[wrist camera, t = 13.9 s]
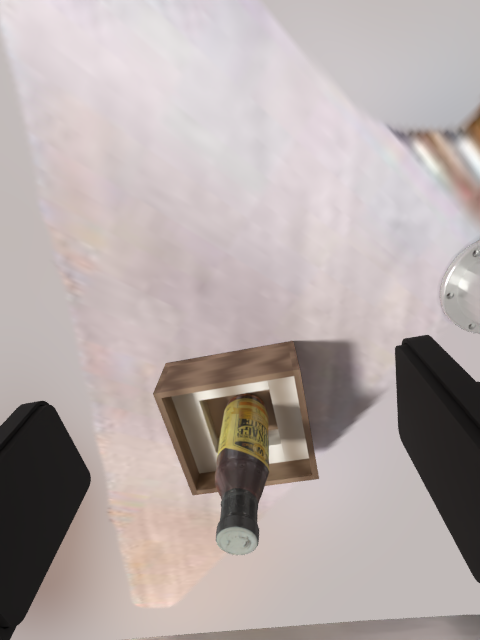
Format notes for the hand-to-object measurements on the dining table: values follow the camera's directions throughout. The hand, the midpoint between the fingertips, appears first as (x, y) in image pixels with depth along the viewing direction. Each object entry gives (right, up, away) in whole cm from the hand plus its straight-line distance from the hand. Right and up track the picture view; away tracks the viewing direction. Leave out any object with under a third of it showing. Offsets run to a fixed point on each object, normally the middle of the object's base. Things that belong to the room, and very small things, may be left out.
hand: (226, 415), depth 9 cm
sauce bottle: (+1, -10, +41) cm, 43 cm away
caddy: (+1, -10, +42) cm, 43 cm away
